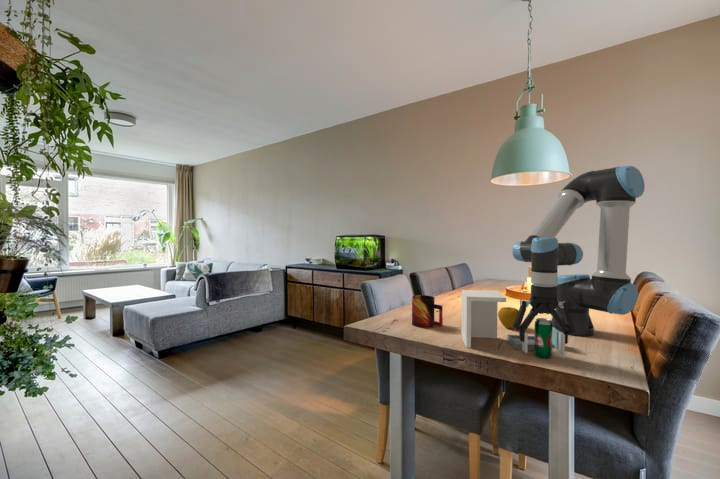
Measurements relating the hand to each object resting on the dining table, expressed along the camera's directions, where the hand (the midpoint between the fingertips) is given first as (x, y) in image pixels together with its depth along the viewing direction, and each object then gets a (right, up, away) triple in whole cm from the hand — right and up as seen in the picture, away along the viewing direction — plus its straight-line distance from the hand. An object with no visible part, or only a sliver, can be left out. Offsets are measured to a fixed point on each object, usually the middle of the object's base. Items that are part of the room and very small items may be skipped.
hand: (542, 352), depth 107 cm
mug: (-30, -1, +36) cm, 47 cm away
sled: (+2, -1, +10) cm, 11 cm away
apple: (+4, -1, +32) cm, 32 cm away
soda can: (0, -2, 0) cm, 2 cm away
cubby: (-15, -1, +13) cm, 20 cm away
